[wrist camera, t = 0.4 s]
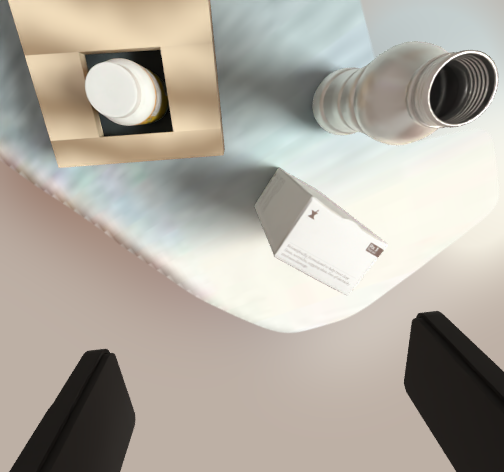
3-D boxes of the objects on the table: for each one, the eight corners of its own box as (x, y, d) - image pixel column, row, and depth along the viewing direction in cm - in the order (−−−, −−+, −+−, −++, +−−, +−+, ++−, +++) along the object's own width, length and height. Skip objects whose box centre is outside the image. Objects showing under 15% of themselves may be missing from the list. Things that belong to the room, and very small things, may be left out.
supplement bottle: (175, 80, 32) (153, 67, 23) (163, 131, 34) (139, 136, 25) (123, 60, 31) (80, 39, 22) (114, 113, 33) (71, 113, 24)
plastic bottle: (368, 127, 35) (520, 141, 16) (310, 139, 35) (398, 166, 17) (365, 65, 33) (540, -1, 14) (303, 78, 33) (396, 30, 14)
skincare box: (253, 205, 38) (265, 257, 24) (279, 163, 36) (309, 193, 22) (307, 237, 40) (346, 301, 26) (334, 198, 38) (393, 246, 24)
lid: (-14, -101, 23) (-64, -144, 19) (197, -111, 24) (190, -156, 20) (65, 165, 30) (40, 173, 27) (223, 153, 31) (222, 159, 27)
